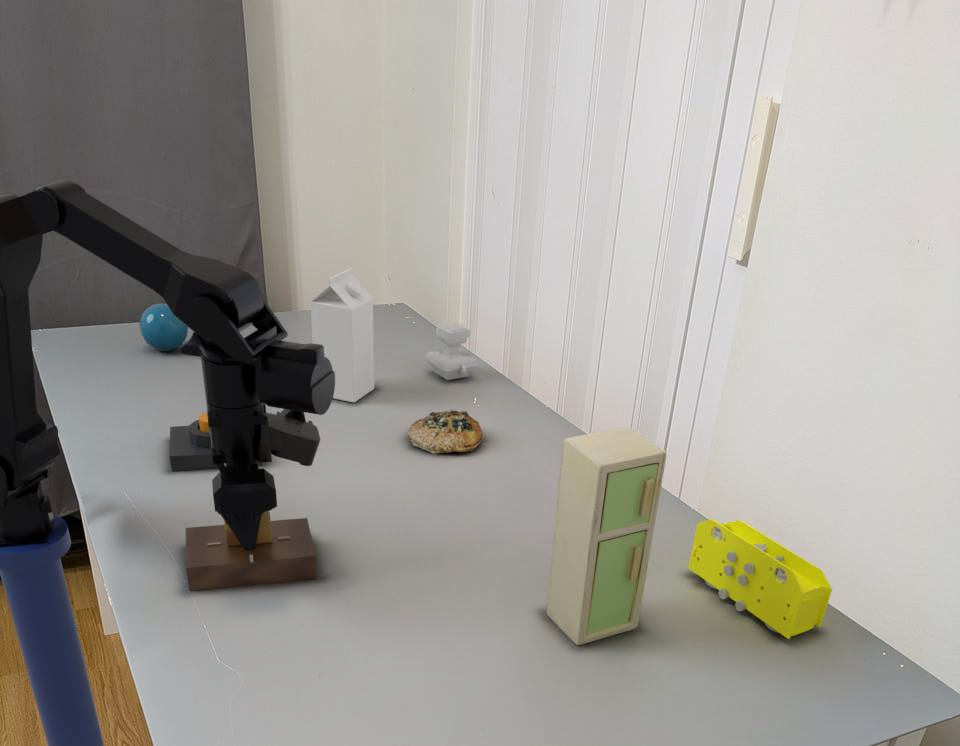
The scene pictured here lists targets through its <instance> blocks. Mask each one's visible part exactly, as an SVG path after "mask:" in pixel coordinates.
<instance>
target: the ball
mask: <svg viewBox="0 0 960 746" xmlns="http://www.w3.org/2000/svg"><path fill="white" fill-rule="evenodd" d="M139 319H140V320H139V331H140V334H141V336H142V338H143V340H144V341H145V342H146V344H148V346H149V347H151V348H153V349H155V350H157V351H160V352H172V351H175V350H177V349H180V348H181V347H182V346H183V345H184V344H185V341H186V340H187V337H188V333H189V327H187V326H186V325H185V324H184V323H182V322H181V321H180V320H179V319H178V318H176V317H175V316H174V315H173V313H172V311H171V310H170V308H169V307H168V305H167V303H154V304H153V305H150V306H149V307H147V308H146V309H145V311H144V312H143V313H142V315H141V317H140V318H139Z"/></svg>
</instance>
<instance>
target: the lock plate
mask: <svg viewBox="0 0 960 746" xmlns="http://www.w3.org/2000/svg"><path fill="white" fill-rule="evenodd" d="M270 522H271V533H272V543H260V544H256V549H255V550H254V551H245V550H244V548H243V547H242V545H237V546H227V541H226V532H225V524H215V525H204V526H191V527H190V526H189V527H185V528H184V529H185V571H186V578H187V584H188V588H189V589H188V591H189V592H192V591H201V590H203V591H204V590H214V589H223V588H234V587H243V586H244V587H245V586H253V585H254V586H255V585H264V584H275V583H283V582H284V583H287V582H293V581H294V582H296V581H305V580H306V581H307V580H317V579H318V569H317V567H318V566H317V555H316V551H315V550H316V549H315V546H314V542H313V538H312V534H311V533H312V532H311V529H310V525H309V520H308V517H304V518H303V517H302V518H301V517H300V518H290V519H277V520H270Z"/></svg>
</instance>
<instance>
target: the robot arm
mask: <svg viewBox="0 0 960 746" xmlns="http://www.w3.org/2000/svg"><path fill="white" fill-rule="evenodd" d="M50 232H55V233H56V234H58V235H60V236H62V237H63V238H65V239H67V240H68V241H70V242H72V243H74V245H77V246H78V247H80V248H82V249H84V250H85V251H87V252H89V253H90V254H92V255H93V256H95V257H97V258H98V259H100V260H101V261H104V262H105V263H107V264H108V265H110V266H111V267H113V268H115V269H117V270H118V271H120V272H122V273H123V274H125V275H127V276H128V277H130V278H131V279H134V280H135V281H137V282H138V283H140V284H142V285H143V286H145V287H147V288H149V289H150V290H151V291H153V292H154V293H156V294H157V295H158V296H159V297H160V298H162V299H163V301H164V302H165V304H167V305H168V307H169V308H170V310H171V311H172V313H173V315H174V316H175V317H176V318H178V319H179V320H180V321H181V322H182V323H184V324H185V325H186V326H187V327H188V329H189V330H191V331H192V334H191V337H190V338H189V339H188V341H186V342H185V343H183V344H182V345H181V346H180V347H179V352H180V354H182V355H185V356H190V357H198V358H200V361H201V369H202V378H203V385H204V394H205V404H206V413H207V415H208V425H209V438H210V446H211V449H212V458H213V464H216V465H217V467H218V468H217V469H218V471H219V472H218V473H217V474H216V475H215V476H214V477H213V478H212V480H211V483H212V485H211V486H212V498H213V506H214V512H216V513H217V514H218V515H220V516H221V518H222V519H223V521H224V520H225V522H226V523H227V524H228V526H229V527H230V529H231V530H232V532H233V533H234V535H235V536H236V538H237V539H238V541H239V542H240V544H241V545H242V547H243V548H244V550H245V551H254V550H255V549H256V543H257V537H258V531H259V525H260V520H261V516H262V514H263V513H264V512H266V511H272V510H273V509H276V508H277V507H278V499H277V489H276V483H275V477H274V475H273V474H272V473H270V472H269V471H268V470H267V469H265V468H264V467H263V468H259V465H258V463H259V462H260V463H262V464H264V463H273V462H272V461H273V460H272V456H275V457H277V458H280V459H283V460H288V461H292V462H295V463H299V465H301V466H304V467H311V466H313V463H314V460H315V457H316V454H317V452H318V449H319V446H320V442H321V436H320V433H319V428H318V427H317V425H315V424H314V422H313V420H308V421H307V420H306V415H305V413H307V414H313V415H318V416H323V415H325V414H326V413H327V412H328V410H329V409H330V406H331V404H332V402H333V399H334V398H333V395H334V389H335V372H334V371H333V369H332V365H331V362H330V361H329V359H328V358H326V357H324V346H323V345H320V344H313V342H311V343H310V342H309V343H300V342H292V341H286V340H285V339H286V338H287V337H288V332H287V330H286V329H285V327H284V326H283V324H282V323H281V322H280V320H279V319H278V317H277V315H276V314H275V313H274V311H273V310H272V308H271V307H270V305H269V304H268V303H267V301H266V300H265V299H264V297H263V292H262V291H261V289H260V283H259V282H258V280H257V279H256V278H255V276H253V275H252V274H250V273H249V272H247V271H246V270H244V269H242V268H239V267H237V266H234V265H232V264H229V263H227V262H224V261H222V260H219V259H216V258H211V257H205V256H201V255H196V254H192V253H188V252H187V251H185V250H182V249H180V248H178V247H177V246H175V245H173V244H171V243H170V242H168V241H167V240H165V239H163V238H162V237H160V236H158V235H157V234H155V233H154V232H152V231H150V230H149V229H147V228H145V227H143V225H141V224H139V223H137V222H135V221H134V220H133V219H130V218H129V217H127V216H125V215H124V214H122V213H120V212H119V211H117V210H116V209H113V208H112V207H111V206H109V205H107V204H106V203H104V202H102V201H100V200H99V199H98V198H96V197H94V196H92V195H91V194H89V193H87V192H86V190H85V189H84V187H82V186H81V185H80V184H79V183H76V182H73V181H70V180H63V179H62V180H58V181H54V182H50V183H47V184H43V185H40V186H37V187H35V188H34V189H33V190H32V191H30V192H28V193H24V194H23V195H20V196H18V195H16V194H12V193H4V194H1V195H0V547H6V546H18V545H31V544H43V543H46V542H47V541H48V538H49V533H50V532H51V531H52V529H53V524H54V518H53V515H54V514H53V512H52V511H53V509H52V504H51V500H50V497H49V493H47V492H43V488H42V485H41V482H42V481H44V480H47V479H48V478H49V477H50V476H51V475H50V474H51V468H52V467H53V466H54V465H55V464H56V460H57V458H58V457H59V456H60V455H62V452H61V450H60V448H59V443H58V437H59V429H58V426H57V425H55V424H49V423H47V422H46V421H45V419H44V418H43V416H41V414H40V413H39V412H38V408H37V399H36V398H37V396H36V384H35V369H34V355H33V342H32V340H33V339H32V328H31V327H32V326H31V313H30V298H29V288H30V286H31V284H32V281H33V279H34V277H35V274H36V273H37V270H38V268H39V265H40V263H41V260H42V259H41V258H42V249H43V238H44V235H45V234H48V233H50ZM251 326H252V327H254V328H255V329H256V330H255V331H253V332H251V333H250V334H248V335H247V336H243V335H242V333H241V332H243V331H244V330H246V329H248V328H249V327H251ZM267 407H270V408H276V409H283V410H281V411H280V412H279V411H277V412H276V413H271V412H267Z"/></svg>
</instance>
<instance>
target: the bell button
mask: <svg viewBox="0 0 960 746" xmlns="http://www.w3.org/2000/svg"><path fill="white" fill-rule="evenodd" d="M198 420H199V425H200V430H201V431H202V432H208V433H209V425H208V415H207V412H204V413H202V414H200V415H199V416H198Z"/></svg>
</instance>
